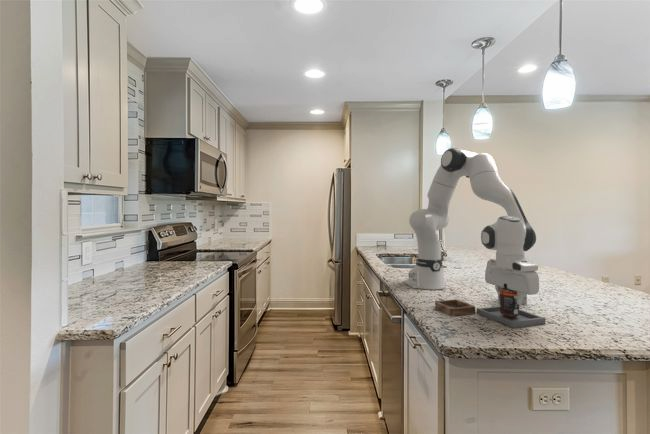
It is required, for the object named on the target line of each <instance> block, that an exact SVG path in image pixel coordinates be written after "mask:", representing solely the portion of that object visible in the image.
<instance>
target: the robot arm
mask: <svg viewBox="0 0 650 434" xmlns="http://www.w3.org/2000/svg"><path fill="white" fill-rule="evenodd" d="M462 177H465V178H468V179H469V182H470V183H469V184H470V187H471V188H470V189H471V190H472V193H473V194H474V195H475V196H476V197H478V198H479V199H482V200H484V201H488V202H490V203H494V204H496V205H499V206H500V207H502V208H503V209H504V210H505V212H506V215H503V216H500V217H498V218H497V220H496V221H495V222H493V223H492V224H490V225H489V224H488V225H486V226H485V227H484V228H483V229H482V230H481V233H480V238H481V239H480V240H481V244H482V245H483V246H484V247H485V248H486V249H487V250H492V251H496V252H495V259H493V258H490V259H489V260H487V261H486V267H485V272H484V281H485V283H486V284H489V285H493V286H494V289H495V291H496V292H497V298H498V299H499V298H500V290H501V288H504V283H506V284H507V288H508V289H510V290H514V291H517V295H518V297H517V298H516V299H515V304H518V305H519V306H520V305H523V304H522V299H523V298H524V296H525V294H527V296H528V295H530V296H532V295H537V294H539V291H540V277H539V274H538V273H537V271H539V265H538V264H537V263H535V262H533V261H531V260H529V259H528V258H526V257H525V252H527V251H530V250H531V248H533V247H534V245H535V244H536V241H537V235H536V232H535V230H534V228H533V227H532V226H531V224H530V223H529V221H528V218H527V217H526V215H525V213H524V211H523V208H522V206H521V204H520V202H519V199H518V198H517V196H516V194H515V192H514V191H513V190H512V189H511V188H509V187H508V186H507V185H506V184H505V182H503V180H502V178H501V176H500V172H499V169H498V167H497V165H496V161H495V160H494V158H493V156H492V155H490V154H489V153H487V152H485V153H484V152H481V153H478V152H474V151H471V150H465V149H459V148H455V147H454V148H453V147H451V148H448V149H446V150H445V151H444V152H443V154H442V156H441V158H440V165H439V167H438V169H437V170H436V172H435V174H434V176H433V178H432V182H431V184H430V186H429V189H428V193H427V198H428V205H427V208H421V209H418V210H415V211H413V212H411V214H410V215H409V221H408V223H409V225H410V227H411V228H412V230H414V233H415V237H416V241H417V258H416V259H415V266H413V267H412V268H411V269H410V270H409V271H408V274H407V275H408V276H407V277H408V278H407V279H403V283H405V284H407V285H408V286H409V287H411V288H413V289H422V290H423V289H424V290H442V289H445V287H446V286H447V283H445V275H444V269H443V267H442V266H443V259H442V243H441V241H440V240H439V238H438V235H437V231H439V230H442V229H444V228H446V227H448V224H449V222H450V217H449V208H450V207H449V206H450V203H451V200H452V197H453V194H455V193H454V192H455V190H456V187H457V186H458V183H459V182H458V181H459V180H460V178H462Z"/></svg>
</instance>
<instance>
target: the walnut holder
mask: <svg viewBox="0 0 650 434" xmlns="http://www.w3.org/2000/svg"><path fill="white" fill-rule="evenodd" d="M434 308H435V309H436V310H437V311H440V312H442V313H444V314H446V315H449V316H453V317H455V316H457V317H458V316H465V315H474V314H476V306H475V305H473V304H471V303H468V302H465V301H463V300H460V299H447V300H446V299H445V300H444V299H443V300H435V301H434Z"/></svg>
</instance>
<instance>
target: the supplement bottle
mask: <svg viewBox="0 0 650 434" xmlns="http://www.w3.org/2000/svg"><path fill="white" fill-rule="evenodd" d="M517 297H518V295H517V291H514V290H510V289H508V288H507V284H506V283H504V288H501V290H500V300H499V306H500V313H501V314H502V315H504V316H509V317H517V316H519V309H520V305H518V304H515V299H516V298H517Z"/></svg>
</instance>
